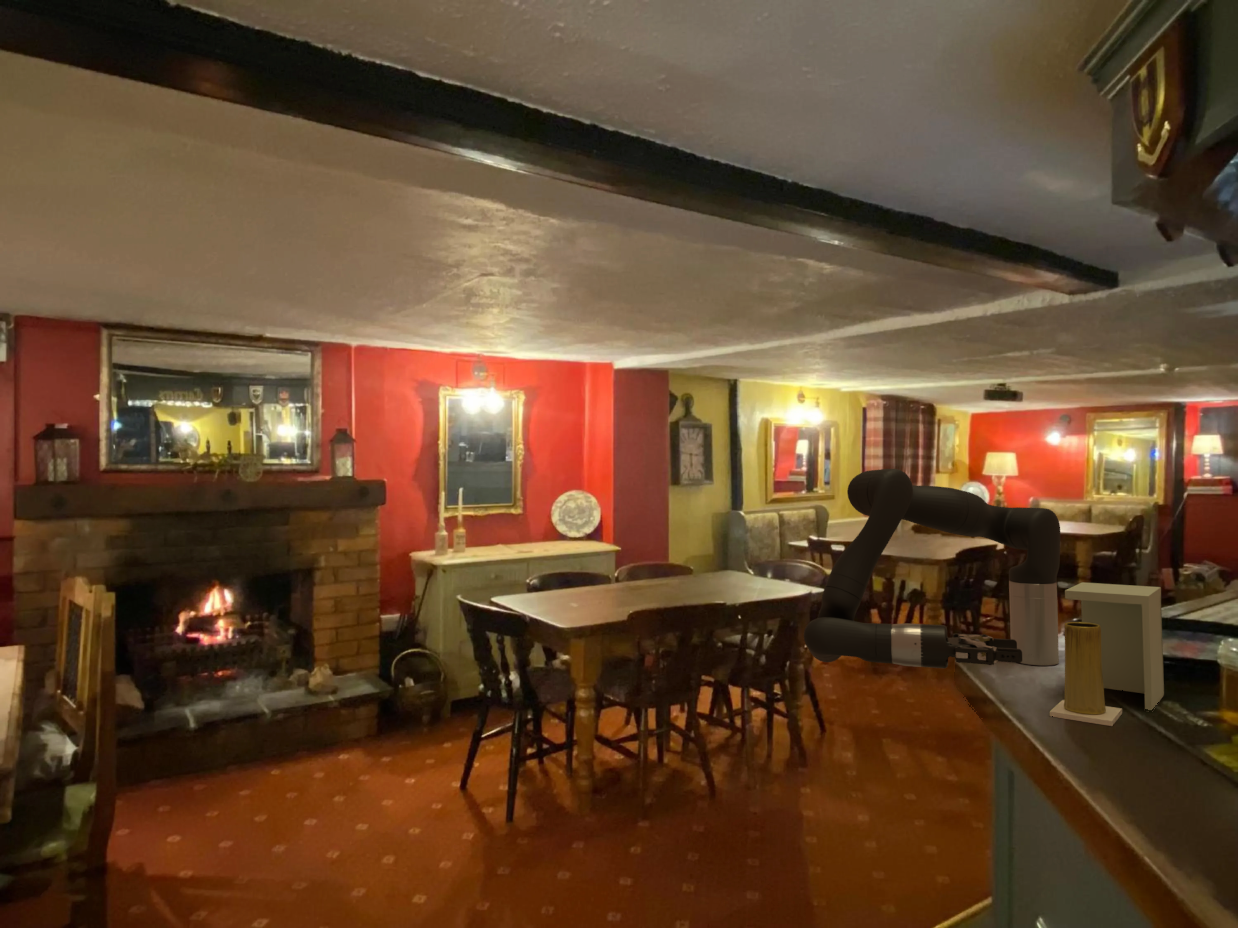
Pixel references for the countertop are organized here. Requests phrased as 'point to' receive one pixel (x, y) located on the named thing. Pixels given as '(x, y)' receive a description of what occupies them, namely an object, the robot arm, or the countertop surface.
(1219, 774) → the countertop surface
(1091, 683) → the vase
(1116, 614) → the shelf nook
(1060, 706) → the tile
